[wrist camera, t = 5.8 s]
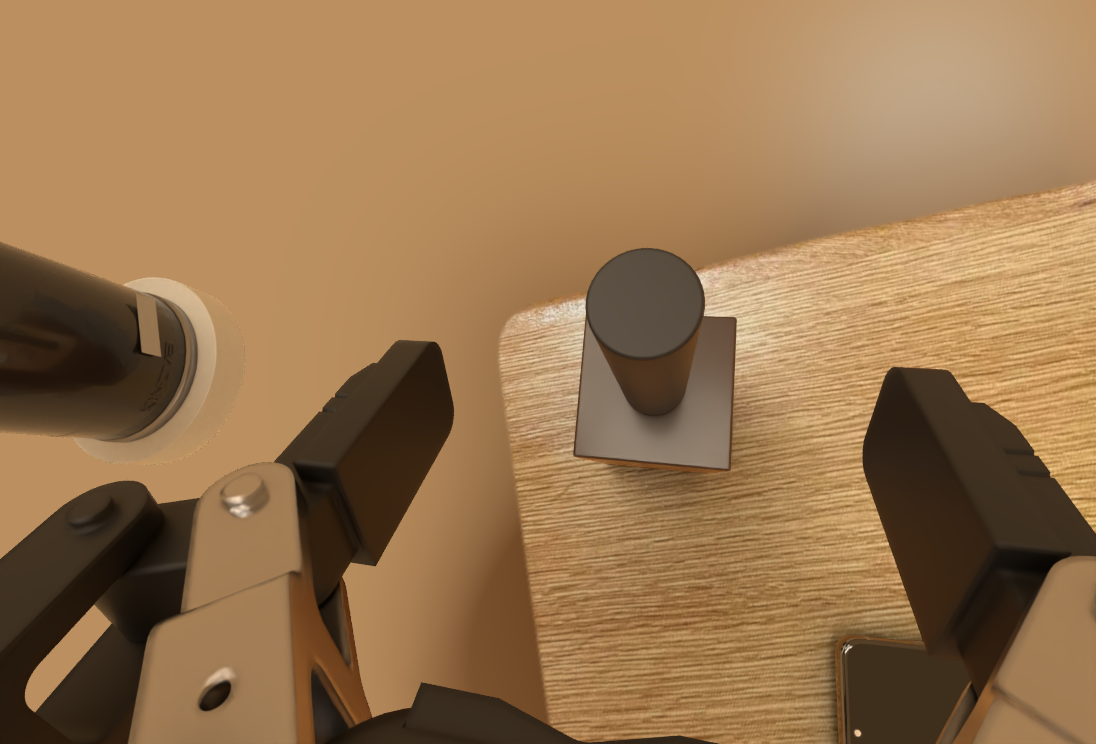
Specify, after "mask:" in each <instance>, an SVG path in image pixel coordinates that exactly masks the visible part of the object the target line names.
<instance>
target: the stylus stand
mask: <svg viewBox="0 0 1096 744" xmlns="http://www.w3.org/2000/svg"><path fill="white" fill-rule="evenodd" d="M736 324H737V319H736V318H734V317H710V316H703V319H702V324H701V328H700V332H699V336H698V341H697V345H696V349H695V353H694V358H693V362H692V366H691V370H690V375H689V379H688V383H687V387H686V392H685V395H684V397H683V399H682V401H681V402H680V403H679V405H678V406H677V407H675V408H674V409H673V410H671V411H670V412H668V413H665V414H661V415H647V414H644V413H641V412H639V411H637V410H636V409H634V408H633V407H632V406H631V405H630V404H629V403H628V401H627V400H626V398H625V396H624V394H623V392H622V390H621V388H620V386H619V384H618V382H617V380H616V378H615V376H614V374H613V372H612V370H611V368H610V366H609V364H608V362H607V360H606V358H605V356H604V354H603V353H602V351H601V349H600V347H599V345H598V343H597V341H596V339H595V337H594V335H593V333H592V331H591V329H590V327H589V324H588V321H587V316H586V319H585V330H584V341H583V352H582V363H581V375H580V386H579V397H578V408H577V420H576V431H575V442H574V453H573V454H574V456H575V457H578V458H583V459H587V460H592V461H596V462H601V463H605V464H614V465H625V466H635V467H645V468H656V469H666V470H676V471H687V472H697V473H715V472H727V471H730V469H731V450H732V425H733V400H734V375H735V350H736Z"/></svg>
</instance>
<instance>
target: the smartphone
mask: <svg viewBox="0 0 1096 744" xmlns="http://www.w3.org/2000/svg"><path fill="white" fill-rule="evenodd" d="M835 663H836V688H837V714H838V739H839V744H935V743H936V741H937V739H938V738H939V736H940V734H941V732H942V730H943V728H944V726H945V725H946V723H947V721H948V719H949V717H950V715H951V713H952V711H953V710H954V708H955V706H956V704H957V702H958V700H959V698H960V697H961V695H962V693H963V691H964V690H965V688H966V687H967V685H968V684H969V683H970V681H971V679H970V676H969V674H968V671H967V669H966V666H965V664H964V661H959V660H953V659H946V658H940V657H934V656H928V653H927V650H926V647H925V645H924V642H923V641H904V640H894V639H884V638H875V637H865V636H856V635H848V636H844V637H842V638H841V639H840V640H839V641H838V643H837V645H836V649H835Z"/></svg>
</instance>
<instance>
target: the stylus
mask: <svg viewBox="0 0 1096 744" xmlns="http://www.w3.org/2000/svg"><path fill="white" fill-rule="evenodd" d="M704 309H705V297H704V291H703V287H702V284H701V282H700V279H699V277H698V276H697V274H696V272H695V271H694V270H693V269H692V267H691V266H690V265H688V264H687V263H686V262H685V261H684V260H683V259H681V258H680V257H678V256H676V255H674V254H672V253H670V252H667V251H664V250H660V249H652V248H641V249H635V250H630V251H627V252H625V253H622V254H620V255H618V256H616V257H614V258H613V259H611V260H610V261H609V262H607V263H606V264H605V265H604V266H603V267H602V268H601V269H600V270H599V271H598V272H597V274H596V275H595V277H594V278H593V280H592V282H591V284H590V287H589V289H588V292H587V297H586V316H587V321H588V324H589V327H590V329H591V331H592V333H593V335H594V337H595V339H596V341H597V343H598V345H599V347H600V349H601V351H602V353H603V354H604V356H605V358H606V360H607V362H608V364H609V366H610V368H611V370H612V372H613V374H614V376H615V378H616V380H617V382H618V384H619V386H620V388H621V390H622V392H623V394H624V396H625V398H626V400H627V401H628V403H629V404H630V405H631V406H632V407H633V408H634V409H636V410H637V411H639V412H641V413H644V414H647V415H661V414H665V413H668V412H670V411H671V410H673V409H674V408H675V407H677V406H678V405H679V403H680V402H681V401H682V399H683V397H684V395H685V392H686V387H687V383H688V379H689V375H690V370H691V366H692V362H693V358H694V353H695V349H696V345H697V341H698V336H699V332H700V328H701V324H702V319H703V315H704Z"/></svg>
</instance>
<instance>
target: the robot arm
mask: <svg viewBox="0 0 1096 744" xmlns="http://www.w3.org/2000/svg"><path fill="white" fill-rule="evenodd" d="M197 358H198V348H197V340H196V335H195V332H194V328H193V326H192V324H191V322H190V320H189V318H188V317H187V315H186V314H185V312H184V311H183V310H182V309H181V308H180V307H179V306H177V305H176V304H175V303H173V302H172V301H170V300H167V299H165V298H162V297H160V296H157V295H154V294H151V293H145V292H141V291H138V290H135V289H132V288H129V287H126V286H124V285H121V284H117V283H115V282H112V281H109V280H107V279H105V278H101V277H99V276H96V275H93V274H90V273H87V272H84V271H82V270H79V269H76V268H73V267H70V266H68V265H65V264H62V263H59V262H56V261H53V260H51V259H48V258H45V257H42V256H39V255H36V254H33V253H31V252H27V251H25V250H22V249H19V248H17V247H14V246H11V245H8V244H5V243H2V242H0V433H13V434H29V435H44V436H56V437H71V438H88V439H96V440H100V441H106V442H132V441H136V440H139V439H142V438H145V437H147V436H149V435H151V434H152V433H154V432H156V431H157V430H159V429H160V428H161V427H163V426H164V425H165V424H166V423H167V422H168V421H169V420H170V419H171V418H172V417H173V416H174V415H175V414H176V412H177V411H178V410H179V408H180V407H181V405H182V404H183V402H184V400H185V399H186V397H187V395H188V393H189V391H190V388H191V386H192V383H193V380H194V376H195V372H196V367H197ZM453 417H454V406H453V401H452V396H451V391H450V387H449V382H448V378H447V373H446V369H445V364H444V360H443V355H442V351H441V349H440V347H439V345H438V344H437V343H436V342H427V341H408V340H399V341H397V342H395V343H394V344H393V345H392V346H391V348H390V349H389V350H388V351H387V352H386V353H385V355H384V356H383V357H382V358H381V359H380V361H379V362H378V363H372V364H370V365H369V366H367V367H366V368H364V369H363V370H361V371H359V372H358V373H356V374H354V375H353V376H351V377H350V378H349V379H348V380H347V381H346V382H345V384H344V385H343V386H342V387H341V388H340V389H339V390H338V391H337V392H336V394H335V398H333V397H332V398H331V399H330V400H329V402H327V404H326V405H325V406H324V407H323V411H322V412H318V414H317V415H316V416H315V417H314V418H313V419H312V421H310V422H309V424H308V425H307V426H306V427H305V428H304V429H303V430H302V431H301V433H300V434H299V435H298V436H297V437H296V438H295V439H294V440H293V441H292V442H291V444H290V445H289V446H288V447H287V448H286V449H285V450H284V451H283V452H282V454H281V455H280V456H279V457H278V458H277V459H276V460H275V461H274V462H263V463H256V464H252V465H248V466H245V467H242V468H240V469H237V470H235V471H233V472H231V473H229V474H228V475H225V476H224V477H222V478H221V479H219V480H218V481H216V482H215V483H214V484H213V485H211V486H210V487H209V488H208V489H207V490H206V491H205V493H203V495H202V496H201V497H200V498H197V499H190V500H183V501H176V502H170V503H162V504H157V502H156V501H155V499H154V498H153V496H152V495H151V494H150V492H149V491H148V489H147V488H146V486H144V485H143V484H142V483H139V482H135V481H119V482H114V483H110V484H106V485H102V486H99V487H97V488H94V489H92V490H89V491H87V492H85V493H83V494H81V495H79V496H78V497H76V498H74V499H73V500H71V501H69V502H68V503H66V504H65V505H63V506H62V507H61V508H60V509H58V510H57V511H56V512H55V513H54V514H52V515H51V516H50V517H49V518H48V519H47V520H45V521H44V522H43V523H42V524H41V525H40V526H38V527H37V528H36V529H35V530H34V531H33V532H31V533H30V534H29V535H28V536H27V537H26V538H24V539H23V540H22V541H21V542H20V543H19V544H18V545H16V546H15V547H14V548H13V549H12V550H10V551H9V552H8V553H7V554H6V555H5V556H3V557H2V558H1V559H0V744H717V743H713V742H708V741H703V740H698V739H693V738H688V737H684V736H667V737H655V738H642V739H630V740H617V741H605V742H592V743H591V742H581V741H577V740H575V739H573V738H571V737H569V736H567V735H565V734H563V733H562V732H560V731H558V730H556V729H554V728H552V727H551V726H549V725H547V724H545V723H543V722H541V721H540V720H538V719H536V718H534V717H532V716H530V715H529V714H527V713H525V712H523V711H521V710H519V709H518V708H516V707H514V706H512V705H510V704H508V703H507V702H505V701H503V700H501V699H499V698H495V697H489V696H485V695H480V694H475V693H470V692H465V691H460V690H456V689H451V688H446V687H441V686H436V685H432V684H427V683H421V685H420V688H419V690H418V692H417V695H416V697H415V700H414V703H413V705H412V707H411V708H406V709H402V710H397V711H393V712H388V713H384V714H382V715H379V716H376V717H374V718H372V716H371V712H370V709H369V706H368V703H367V700H366V697H365V694H364V690H363V687H362V683H361V678H360V673H359V666H358V660H357V654H356V647H355V641H354V635H353V628H352V622H351V616H350V610H349V604H348V597H347V590H346V586H345V582H344V580H343V578H342V576H343V573H344V572H345V571H346V569H347V567H348V566H349V564H350V562H352V563H358V564H365V565H371V566H376V565H377V563H378V561H379V559H380V557H381V556H382V554H383V552H384V550H385V548H386V547H387V544H388V543H389V541H390V539H391V538H392V536H393V534H394V532H395V531H396V529H397V527H398V525H399V523H400V522H401V520H402V518H403V516H404V514H405V513H406V511H407V509H408V507H409V506H410V504H411V502H412V500H413V498H414V496H415V495H416V493H417V491H418V489H419V487H420V486H421V484H422V482H423V480H424V479H425V477H426V475H427V473H428V472H429V470H430V468H431V466H432V464H433V463H434V461H435V459H436V457H437V455H438V453H439V452H440V450H441V448H442V446H443V445H444V443H445V441H446V439H447V438H448V436H449V433H450V431H451V428H452V424H453ZM863 468H864V473H865V476H866V479H867V482H868V485H869V488H870V491H871V494H872V496H873V499H874V502H875V505H876V508H877V511H878V513H879V516H880V519H881V522H882V525H883V528H884V531H885V533H886V536H887V539H888V542H889V545H890V548H891V551H892V553H893V556H894V559H895V562H896V565H897V568H898V570H899V573H900V576H901V579H902V582H903V585H904V588H905V590H906V593H907V596H908V599H909V602H910V605H911V608H912V610H913V613H914V616H915V619H916V622H917V625H918V628H919V630H920V633H921V636H922V639H923V642H924V645H925V647H926V650H927V653H928V656H934V657H940V658H946V659H953V660H959V661H964V664H965V666H966V669H967V671H968V674H969V676H970V679H971V681H970V683H969V684H968V685H967V687H966V688H965V690H964V691H963V693H962V695H961V697H960V698H959V700H958V702H957V704H956V706H955V708H954V710H953V711H952V713H951V715H950V717H949V719H948V721H947V723H946V725H945V726H944V728H943V730H942V732H941V734H940V736H939V738H938V739H937V741H936V743H935V744H1096V534H1095V532H1094V531H1093V529H1092V528H1091V527H1090V525H1089V524H1088V523H1087V521H1086V520H1085V519H1084V517H1083V516H1082V515H1081V513H1080V512H1079V511H1078V509H1077V508H1076V507H1075V505H1074V504H1073V502H1072V501H1071V500H1070V498H1069V497H1068V496H1067V494H1066V493H1065V492H1064V490H1063V489H1062V488H1061V486H1060V485H1059V484H1058V482H1057V481H1056V479H1055V478H1050V471H1049V470H1048V469H1047V467H1046V466H1045V465H1044V463H1043V462H1042V461H1041V459H1040V458H1039V456H1034V450H1033V448H1032V447H1031V446H1030V444H1029V443H1028V442H1027V440H1026V439H1025V438H1024V436H1023V435H1022V433H1021V432H1020V431H1019V429H1018V428H1017V427H1016V425H1014V424H1013V423H1011V422H1010V421H1009V420H1007V419H1006V418H1004V417H1003V416H1002V415H1000V414H999V413H997V412H996V411H995V410H993V409H992V408H990V407H989V406H988V405H986V404H985V403H975V402H970V400H969V399H968V397H967V396H966V394H965V393H964V391H963V390H962V388H961V387H960V385H959V384H958V382H957V381H956V379H955V378H954V376H953V375H952V374H951V372H949V371H948V370H942V369H923V368H904V367H893V368H891V369H890V370H889V371H888V373H887V374H886V376H885V379H884V381H883V384H882V387H881V390H880V393H879V396H878V399H877V402H876V406H875V409H874V412H873V415H872V418H871V421H870V424H869V427H868V430H867V433H866V436H865V439H864V444H863ZM93 605H95V606H96V607H97V608H98V609H99V610H100V611H101V612H102V613H103V614H104V615H105V616H106V617H107V618H108V620H109V621H110V622H111V623H112V624H111V625H110V626H109V628H108V629H107V630H106V631H105V632H104V633H103V634H102V636H101V637H100V638H99V639H98V640H97V641H96V643H95V644H94V645H93V646H92V647H91V648H90V649H89V651H88V652H87V653H86V654H85V655H84V656H83V658H82V659H81V660H80V661H79V662H78V663H77V664H76V666H75V667H74V668H73V669H72V670H71V671H70V673H69V674H68V675H67V676H66V677H65V678H64V680H63V681H62V682H61V683H60V684H59V685H58V687H57V688H56V689H55V690H54V691H53V692H52V693H51V695H50V696H49V697H48V698H47V699H46V700H45V701H44V703H43V704H42V705H41V706H40V707H39V708H38V710H37V711H36V712H33V711H32V710H31V709H30V708H29V707H28V706H27V704H26V702H25V689H26V685H27V683H28V680H29V678H30V676H31V674H32V673H33V671H34V670H35V668H36V667H37V666H38V665H39V663H40V662H41V661H42V660H43V659H44V658H45V657H46V656H47V655H48V654H49V653H50V651H51V650H52V649H53V648H54V647H55V646H56V645H57V644H58V643H59V642H60V641H61V640H62V638H63V637H64V636H65V635H66V634H67V633H68V632H69V631H70V630H71V628H73V627H74V625H75V624H76V623H77V622H78V621H79V620H80V619H81V618H82V617H83V616H84V615H85V614H86V612H87V611H88V610H89V609H90V608H91V607H92V606H93Z"/></svg>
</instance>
